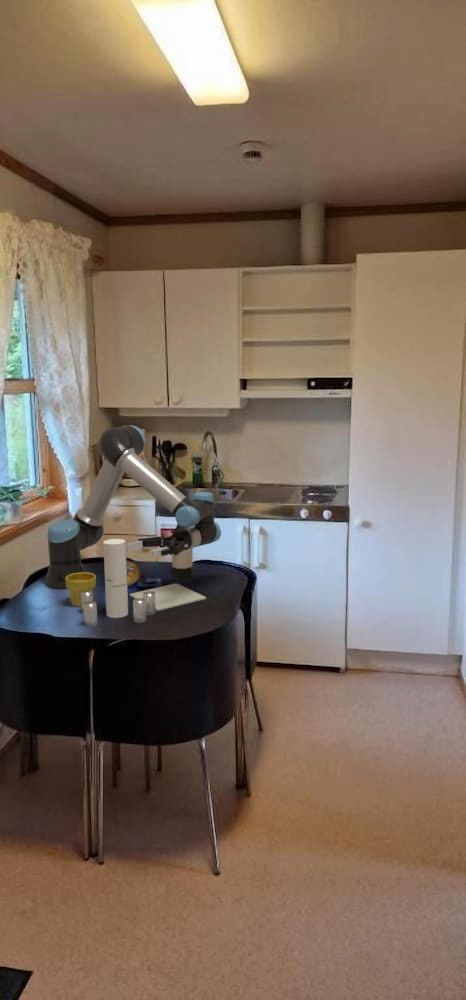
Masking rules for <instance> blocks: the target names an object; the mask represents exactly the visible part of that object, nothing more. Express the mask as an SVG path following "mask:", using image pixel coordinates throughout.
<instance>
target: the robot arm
mask: <svg viewBox="0 0 466 1000" xmlns="http://www.w3.org/2000/svg"><path fill="white" fill-rule="evenodd" d="M146 445H147V439H146V437H145V434H144V432H143V431H142V429H141V428H139V427H138V426H136V425H131V424H130V425H129V424H124V425H122V426H117V427H111V428H107V429H106V430H105V431H104V432H102V434H101V436H99V441H98V447H99V448H98V449H99V451H100V453H101V454H102V456H103V458H104V459H105V460H104V461H103V463H102V466H101V467H100V470H99V472H98V475H97V477H96V478H95V481H94V483H93V485H92V487H91V490H90V491H89V494H88V496H87V498H86V500H85V502H84V504H83V507H81V508H80V509H77V511H76V513H75V515H74V517H73V518H72V519H62V520H58V521H55V522H53V523H52V524H50V525H49V526H48V527H47V541H48V544H47V545H48V546H47V547H48V558H49V560H48V561H49V567H48V569H47V574H46V577H45V585H46V586H47V587H49V588H51V589H60V590H61V589H62V590H64V589H68V588H67V587H66V577H67V576H68V575H70V574H73V573H81V572H86V571H85V569H84V566H83V564H82V557H81V556H82V555H81V551H82V550H84V549H86V548H89V547H92V546H95V545H96V544H97V543H98V542H100V540H101V539H102V538H103V535H104V532H105V528H104V525H105V520H104V516H105V514H106V511H107V509H108V507H109V505H110V504H111V501H112V499H113V498H114V494H115V493H116V490H117V488H118V486H119V484H120V482H121V480H122V477H123V475H124V473H125V474H126V475H128V476H129V477H130V479H132V480H133V481H134V482H136V483H137V485H139V486H140V487H141V488H143V490H145V491H146V492H147V493H148V494H149V495H151V496H152V497H153V498H154V499H155V500H156V501H158V503H160V504H161V505H162V506H163V507H165V508H166V510H168V511H169V512H170V513H171V514H172V515H174V516H175V517H174V518H175V521H176V523H178V524H179V525H180V526H181V527H184V528H185V529H182V530H178V531H175V532H174V531H173V532H174V533H172V534H171V536H166V537H165V535H161V536H160V535H159V536H153V537H152V536H151V537H144V538H138V539H137V541H134V542H130V543H125V544H126V553H129V552H133V551H137V550H142V549H143V548H153V547H155V548H156V547H159V548H157V549H153V550H151V559H152V560H154V559H159V558H161V557H165V556H168V555H170V556H172V554H174V555H178V554H179V553H181V552H182V551H184V550H187V549H192V550H193V549H194V548H197V547H200V546H205V545H210V544H212V543H215V542H217V541H218V540H220V538H221V535H222V530H221V528H220V525H219V524H218V523H217V522H215V500H214V499H215V498H214V494H213V493H212V492H210V491H199V492H196V493H195V492H194V494H193V495H192V496H193V497H192V501H191V499H189V498H188V497H186V495H185V494H183V493H182V492H180V490H178V489H177V488H176V487H175V486H174V485H173V484H171V483H170V482H169V481H168V480H167V479H166V478H164V477H163V476H162V475H161V474H160V473H159V472H157V471H156V470H155V469H154V468H153V467H152V466H151V465H149V464H148V463H147V462H146V461H144V460H143V459H142V458H141V457H140V456H139V455H140V454H142V452H143V451H144V450H145V449H146Z"/></svg>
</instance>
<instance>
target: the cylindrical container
mask: <svg viewBox="0 0 466 1000" xmlns="http://www.w3.org/2000/svg"><path fill="white" fill-rule="evenodd" d="M126 544H127V543H126V540H125V539H123V538H110V539H109V538H108V539H106V540H103V544H102V545H103V561H104V562H103V565H104V585H105V588H104V589H105V608H106V609H105V610H106V612H105V613H106V616H107V617H109V618H112V619H118V618H123V617H126V616H128V614H129V597H128V596H129V595H128V596H127V590H128V586H127V569H126V562H127V549H126Z"/></svg>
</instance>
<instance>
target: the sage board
mask: <svg viewBox="0 0 466 1000" xmlns="http://www.w3.org/2000/svg"><path fill="white" fill-rule="evenodd" d="M147 591H153V592H155V601H156V612H160V611H163V610H167V609H168V610H169V609H171V608H175V607H181V606H183V605H188V604H191V603H195V602H199V601H203V600H207V597H206V596H204V595H202V594H200V593H198V592H195V591H194V590H192V589H189V588H187V587H185V586H182V584H179V583H171V584H167V585H162V586H159V587H153V588H150V589H145V590H141V591H136V592H132V593H129V594H128V596H130V597H131V598H132V599H136V598H143V593H144V592H147Z"/></svg>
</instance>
